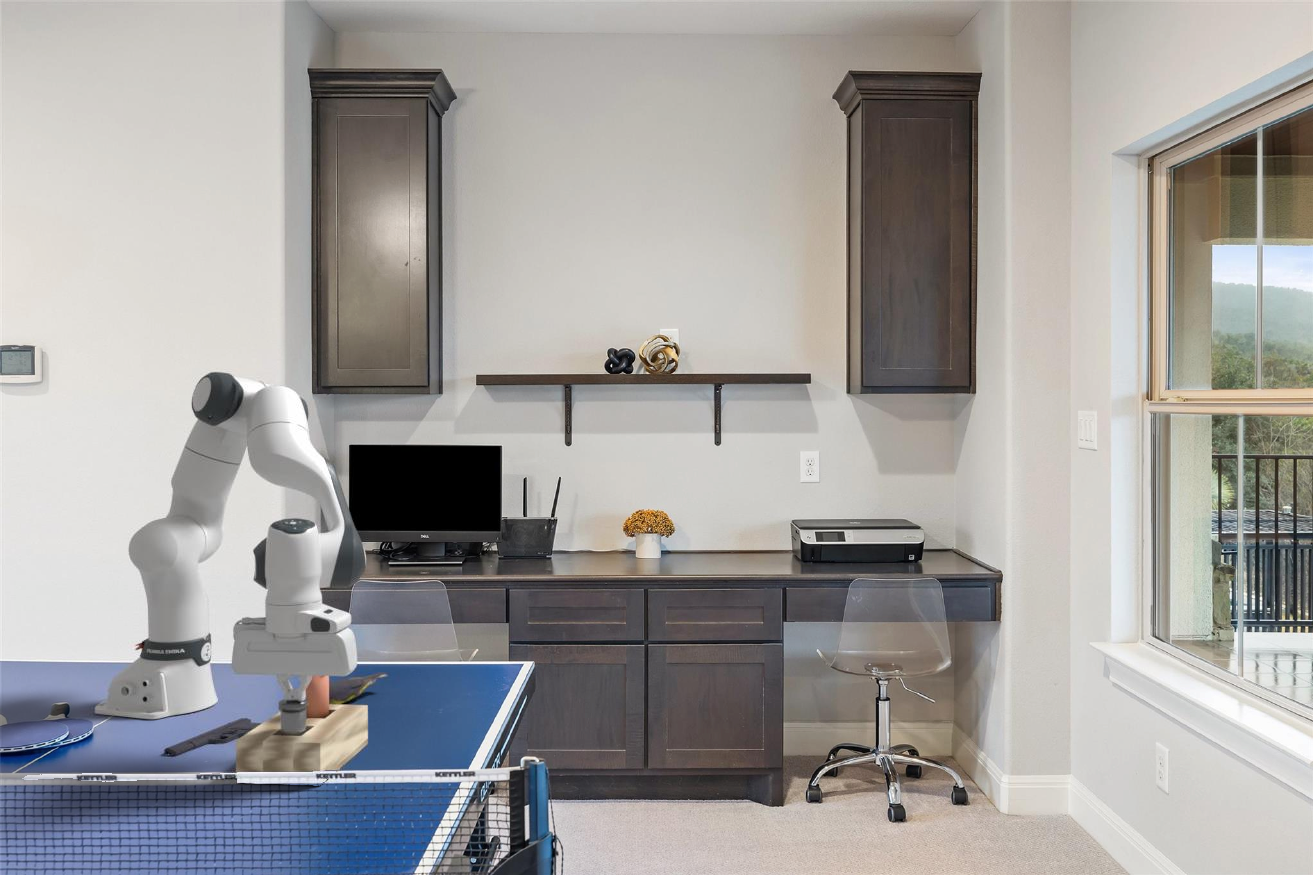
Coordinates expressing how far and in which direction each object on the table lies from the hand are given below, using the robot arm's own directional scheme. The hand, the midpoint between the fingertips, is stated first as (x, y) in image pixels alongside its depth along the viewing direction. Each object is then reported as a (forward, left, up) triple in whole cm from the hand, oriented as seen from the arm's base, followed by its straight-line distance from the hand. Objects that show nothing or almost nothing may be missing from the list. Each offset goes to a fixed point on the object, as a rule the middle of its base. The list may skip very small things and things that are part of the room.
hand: (294, 700), depth 157 cm
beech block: (0, +4, -12) cm, 13 cm away
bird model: (-7, +38, -12) cm, 41 cm away
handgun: (-19, +13, -13) cm, 26 cm away
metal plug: (0, 0, -10) cm, 10 cm away
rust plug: (0, +9, -6) cm, 11 cm away
